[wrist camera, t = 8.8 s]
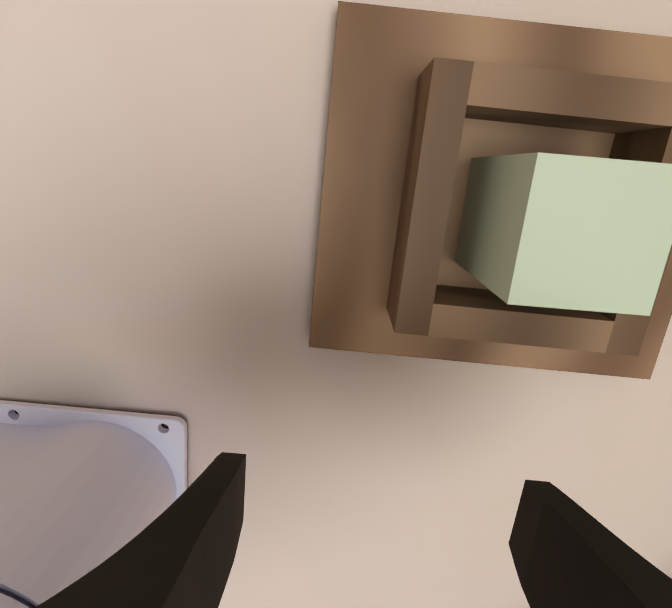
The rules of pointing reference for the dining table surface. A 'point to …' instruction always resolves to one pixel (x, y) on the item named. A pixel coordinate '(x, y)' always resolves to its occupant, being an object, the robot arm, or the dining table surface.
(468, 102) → the well stand
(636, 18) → the dining table surface
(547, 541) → the robot arm
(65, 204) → the dining table surface
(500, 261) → the block
